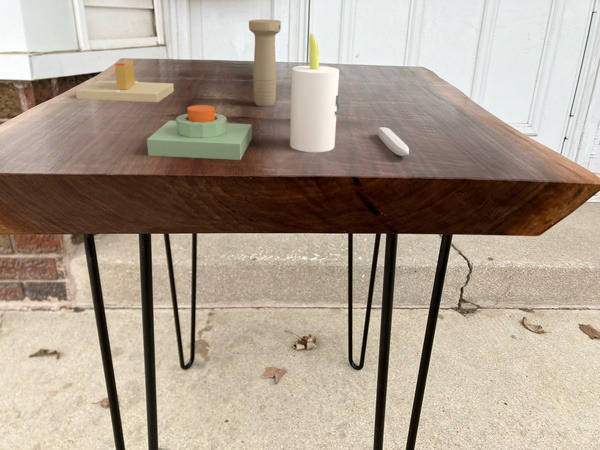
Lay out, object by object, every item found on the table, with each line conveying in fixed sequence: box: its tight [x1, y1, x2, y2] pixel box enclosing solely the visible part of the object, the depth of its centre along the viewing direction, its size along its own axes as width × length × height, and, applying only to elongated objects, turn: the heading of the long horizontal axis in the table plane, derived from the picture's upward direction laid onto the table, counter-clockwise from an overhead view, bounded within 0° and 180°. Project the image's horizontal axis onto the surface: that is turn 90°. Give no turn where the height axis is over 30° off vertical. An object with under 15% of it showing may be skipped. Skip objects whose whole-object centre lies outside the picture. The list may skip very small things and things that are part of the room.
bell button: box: [186, 104, 216, 122], centre depth 70 cm, size 4×4×2 cm
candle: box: [289, 32, 341, 153], centre depth 71 cm, size 6×6×15 cm
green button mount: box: [146, 113, 253, 161], centre depth 71 cm, size 12×10×4 cm
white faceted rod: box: [376, 126, 410, 157], centre depth 74 cm, size 2×14×2 cm, turn 7°
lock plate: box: [75, 79, 175, 103], centre depth 94 cm, size 14×10×3 cm
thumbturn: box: [114, 60, 136, 90], centre depth 93 cm, size 6×2×4 cm, turn 3°
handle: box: [248, 19, 282, 107], centre depth 88 cm, size 5×6×15 cm
